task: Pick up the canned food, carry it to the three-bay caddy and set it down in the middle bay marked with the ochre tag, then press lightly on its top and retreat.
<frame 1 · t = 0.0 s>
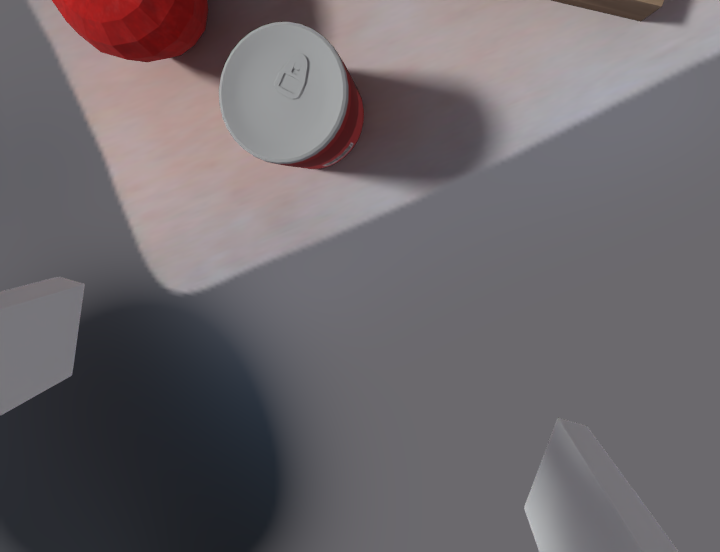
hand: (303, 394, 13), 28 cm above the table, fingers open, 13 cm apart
canned food: (317, 119, 39), on the table
apple: (175, 15, 39), on the table
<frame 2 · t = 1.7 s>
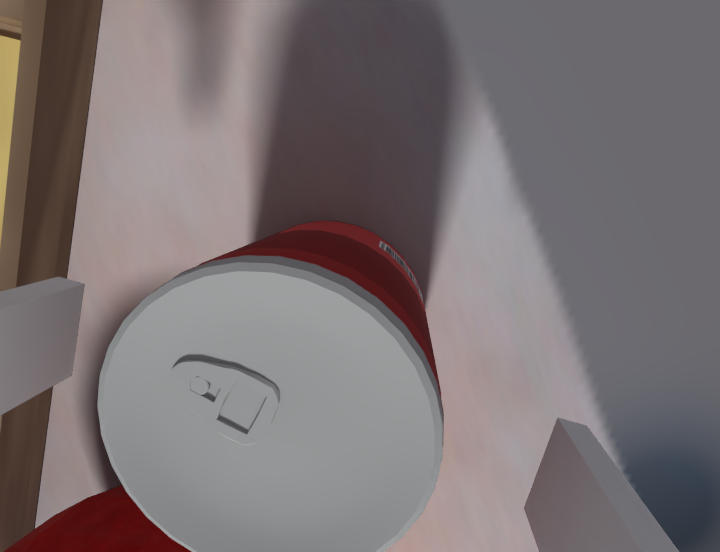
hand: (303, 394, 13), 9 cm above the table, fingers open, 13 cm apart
canned food: (334, 305, 22), on the table
apple: (177, 520, 24), on the table
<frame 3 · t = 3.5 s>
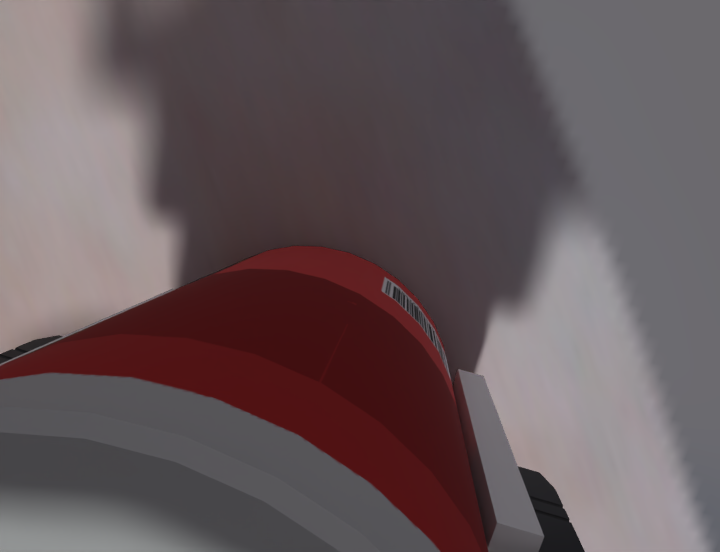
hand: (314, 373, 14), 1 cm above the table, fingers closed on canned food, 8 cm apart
canned food: (320, 361, 15), on the table, touching gripper
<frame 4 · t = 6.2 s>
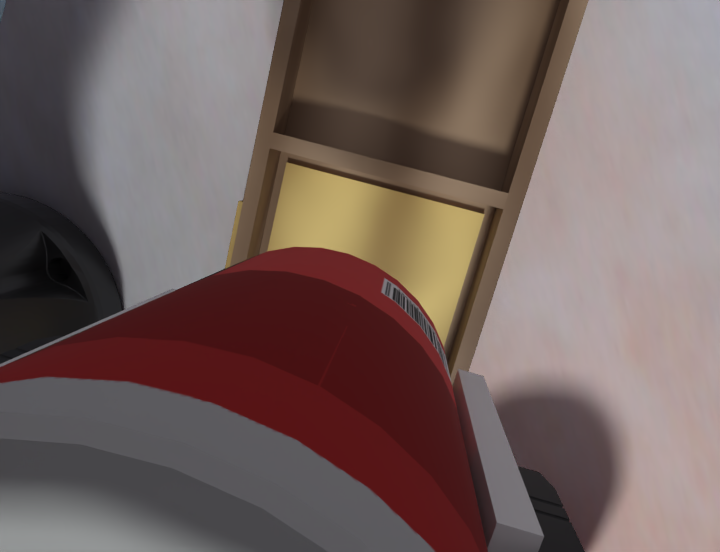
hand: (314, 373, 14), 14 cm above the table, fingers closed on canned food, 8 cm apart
caddy: (361, 280, 28), on the table
canned food: (320, 363, 15), point 13 cm above the table, touching gripper
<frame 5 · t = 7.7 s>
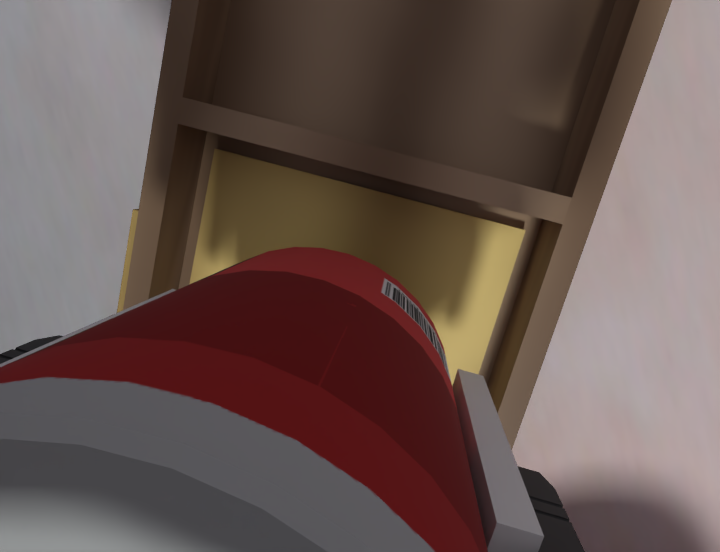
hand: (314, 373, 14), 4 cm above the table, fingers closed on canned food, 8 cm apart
caddy: (334, 328, 19), on the table
canned food: (320, 363, 15), point 4 cm above the table, touching gripper
when the fingers open (3 cm above the table, at t = 8.9 s): canned food drops 1 cm, resting on caddy.
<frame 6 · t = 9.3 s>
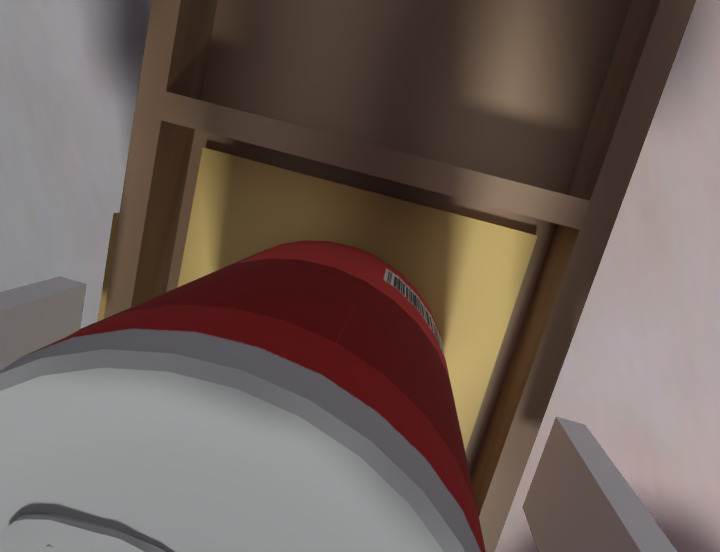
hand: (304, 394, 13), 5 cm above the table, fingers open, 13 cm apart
caddy: (331, 339, 18), on the table
canned food: (326, 347, 17), point 1 cm above the table, touching caddy
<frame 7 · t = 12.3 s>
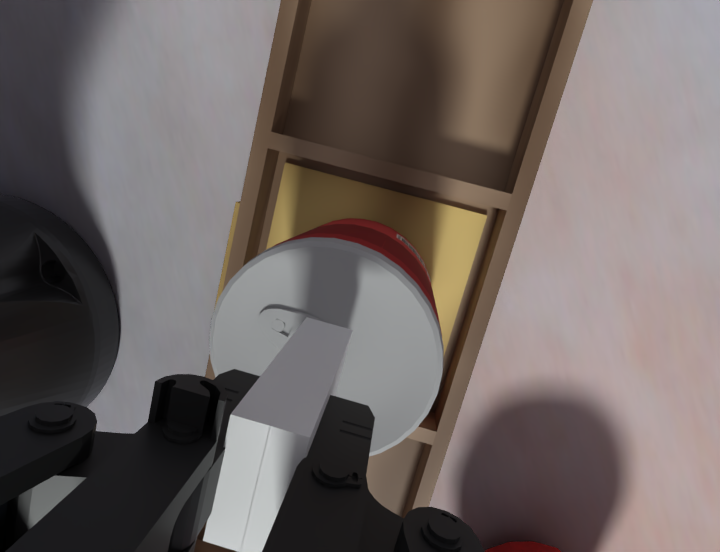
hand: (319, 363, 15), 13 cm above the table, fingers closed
caddy: (361, 283, 28), on the table
canned food: (358, 286, 27), point 1 cm above the table, touching caddy
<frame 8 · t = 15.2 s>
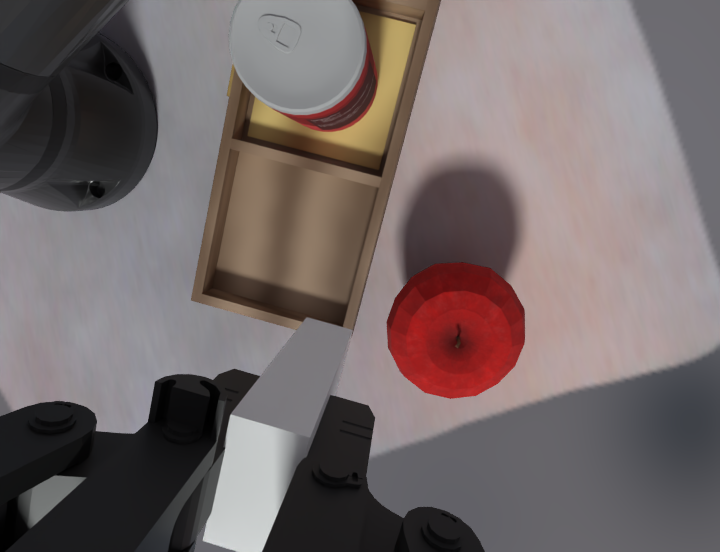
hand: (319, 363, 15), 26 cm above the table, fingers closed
caddy: (330, 85, 39), on the table
canned food: (328, 82, 38), point 1 cm above the table, touching caddy
apple: (447, 305, 42), on the table
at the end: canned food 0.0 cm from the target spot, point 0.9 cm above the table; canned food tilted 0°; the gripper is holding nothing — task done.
